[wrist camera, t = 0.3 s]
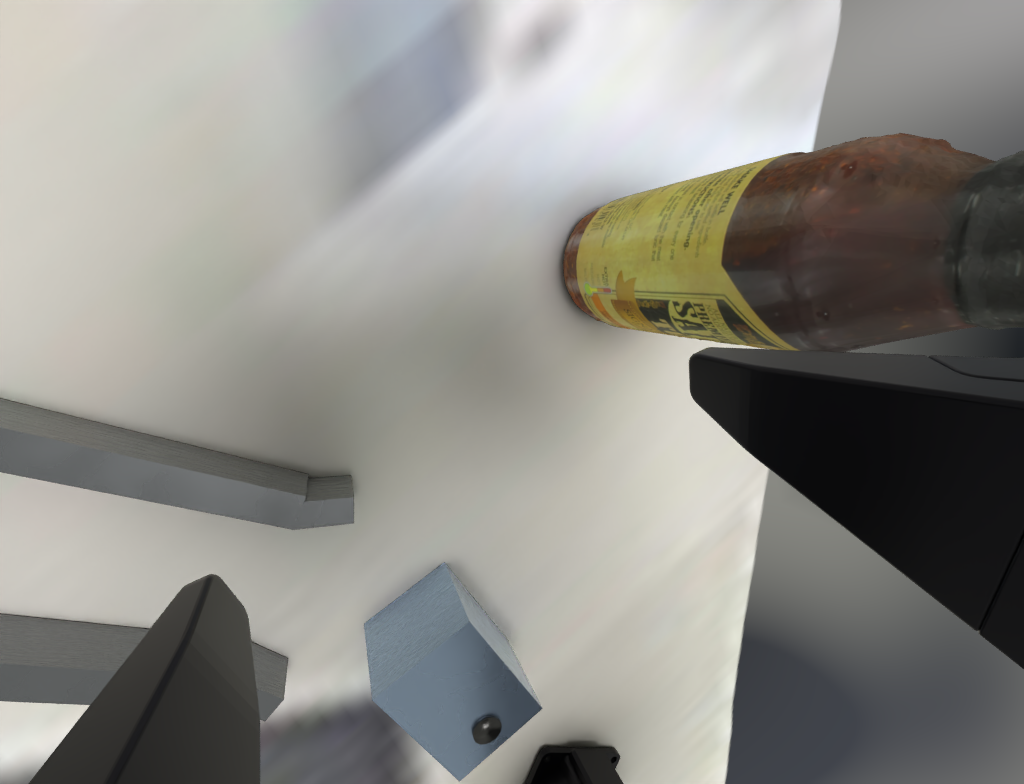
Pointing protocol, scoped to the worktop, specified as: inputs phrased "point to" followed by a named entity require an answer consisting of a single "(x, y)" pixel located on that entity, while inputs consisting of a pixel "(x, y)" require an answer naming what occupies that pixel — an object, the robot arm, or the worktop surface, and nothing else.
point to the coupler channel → (151, 477)
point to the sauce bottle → (813, 249)
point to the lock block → (447, 673)
